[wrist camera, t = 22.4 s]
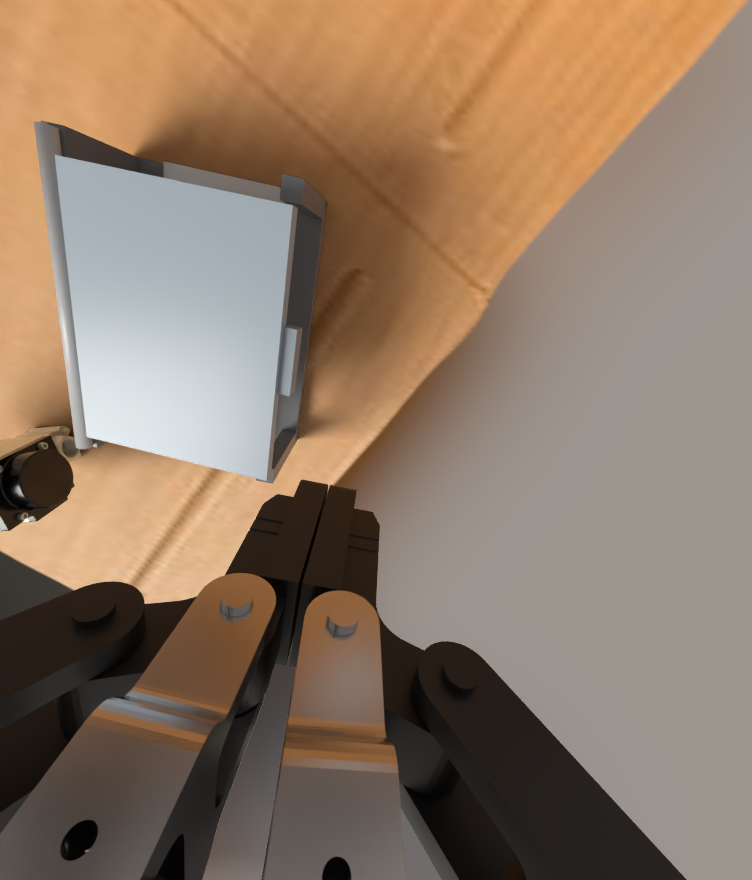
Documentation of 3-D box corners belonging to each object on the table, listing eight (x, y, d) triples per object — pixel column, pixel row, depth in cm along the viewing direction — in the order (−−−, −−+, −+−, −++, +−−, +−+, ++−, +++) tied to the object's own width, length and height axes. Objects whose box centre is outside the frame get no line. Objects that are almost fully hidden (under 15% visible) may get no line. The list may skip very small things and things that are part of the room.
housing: (130, 157, 27) (25, 114, 20) (327, 201, 28) (301, 176, 20) (142, 409, 35) (71, 449, 27) (297, 439, 36) (270, 487, 28)
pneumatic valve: (-12, 424, 36) (-187, 492, 25) (107, 413, 35) (-22, 478, 24) (16, 476, 39) (-134, 560, 28) (129, 467, 38) (19, 550, 27)
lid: (77, 161, 21) (54, 154, 20) (315, 212, 21) (308, 208, 19) (102, 429, 28) (86, 436, 26) (285, 474, 27) (278, 483, 26)
